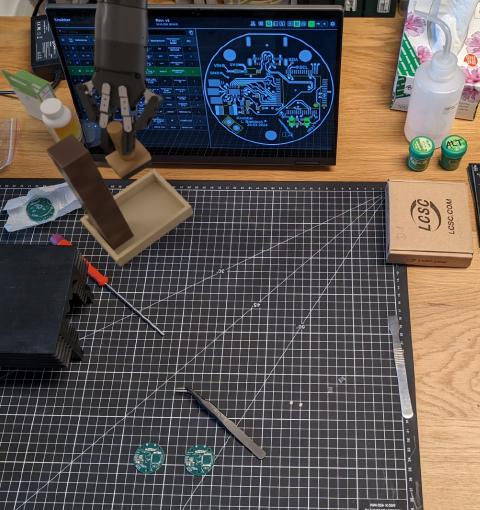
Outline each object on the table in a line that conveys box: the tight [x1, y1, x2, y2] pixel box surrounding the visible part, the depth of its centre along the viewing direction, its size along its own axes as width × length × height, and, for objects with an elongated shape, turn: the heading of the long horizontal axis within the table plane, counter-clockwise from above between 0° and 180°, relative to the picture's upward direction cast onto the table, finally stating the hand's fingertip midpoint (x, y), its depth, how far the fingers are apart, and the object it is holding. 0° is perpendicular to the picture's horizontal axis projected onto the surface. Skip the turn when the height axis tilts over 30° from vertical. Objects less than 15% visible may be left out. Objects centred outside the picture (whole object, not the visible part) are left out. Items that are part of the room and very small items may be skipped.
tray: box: [79, 168, 194, 267], centre depth 116 cm, size 17×12×4 cm
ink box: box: [0, 68, 58, 122], centre depth 122 cm, size 7×4×13 cm, turn 62°
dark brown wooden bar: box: [45, 134, 134, 250], centre depth 103 cm, size 4×4×26 cm
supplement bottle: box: [40, 97, 83, 144], centre depth 121 cm, size 5×5×10 cm
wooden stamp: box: [104, 120, 153, 183], centre depth 100 cm, size 6×4×10 cm, turn 131°
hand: (117, 152), depth 98 cm, fingers closed on wooden stamp, 2 cm apart
